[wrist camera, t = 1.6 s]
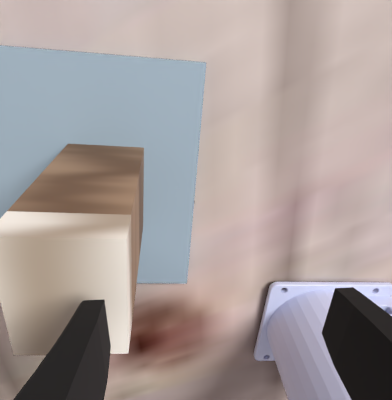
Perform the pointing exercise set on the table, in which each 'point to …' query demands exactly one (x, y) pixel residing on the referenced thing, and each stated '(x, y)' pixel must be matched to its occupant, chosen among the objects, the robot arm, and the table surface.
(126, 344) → the walnut block
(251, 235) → the table surface
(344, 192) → the table surface
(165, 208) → the light blue mat
